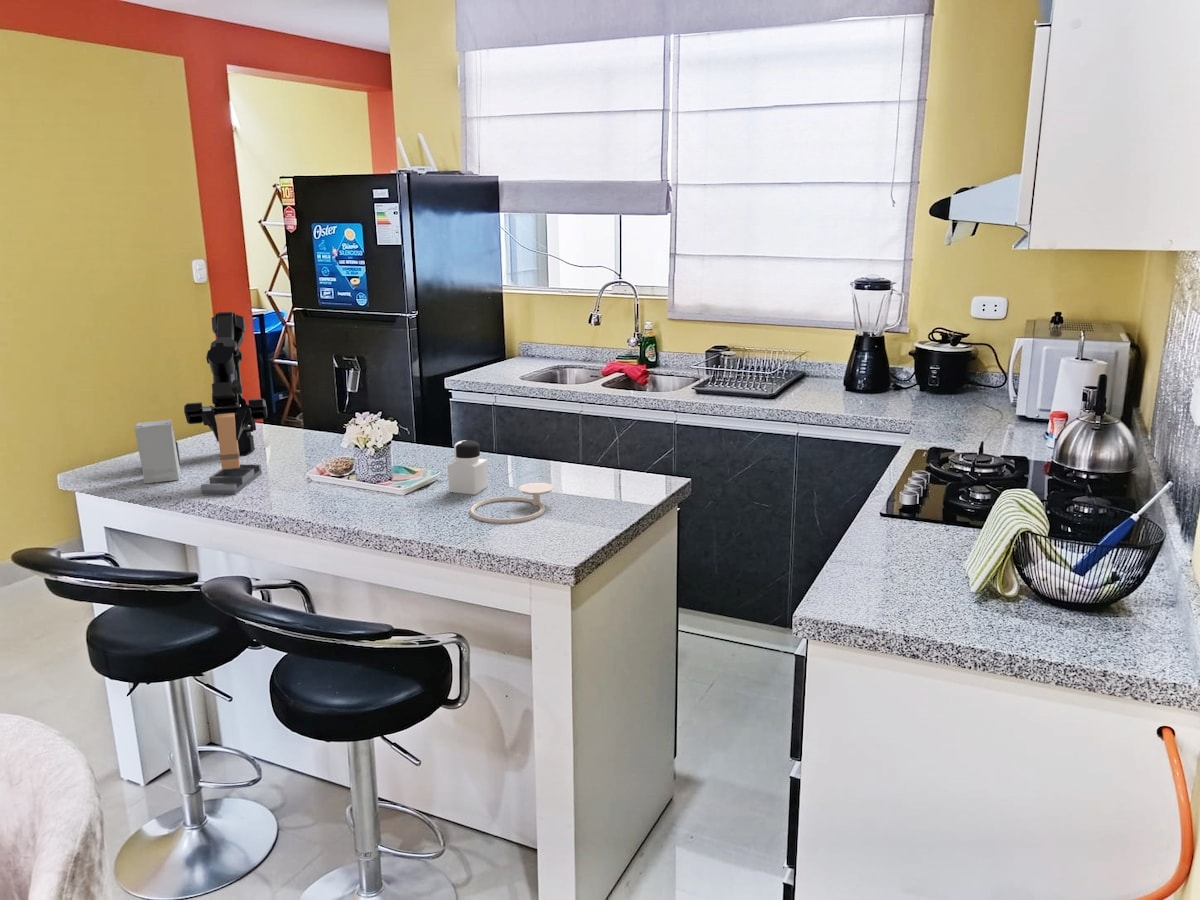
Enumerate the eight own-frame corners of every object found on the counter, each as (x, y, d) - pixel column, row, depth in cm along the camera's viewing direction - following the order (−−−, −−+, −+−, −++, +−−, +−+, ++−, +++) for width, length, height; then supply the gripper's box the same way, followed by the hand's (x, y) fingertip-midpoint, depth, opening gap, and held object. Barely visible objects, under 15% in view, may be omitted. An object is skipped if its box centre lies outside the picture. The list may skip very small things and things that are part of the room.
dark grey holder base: (201, 494, 218) (200, 483, 218) (230, 473, 236) (229, 463, 235) (235, 494, 219) (234, 483, 218) (261, 473, 236) (260, 463, 235)
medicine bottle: (488, 487, 224) (486, 439, 221) (475, 495, 217) (473, 446, 214) (462, 484, 226) (460, 437, 223) (448, 492, 220) (446, 444, 217)
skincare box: (180, 474, 235) (173, 418, 231) (179, 481, 230) (171, 423, 226) (144, 478, 232) (137, 421, 228) (142, 484, 227) (134, 426, 223)
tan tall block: (222, 464, 227) (216, 414, 224) (240, 463, 229) (235, 412, 225) (221, 469, 224) (215, 417, 220) (239, 467, 225) (234, 416, 221)
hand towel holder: (455, 492, 207) (531, 476, 218) (455, 510, 208) (531, 493, 220) (493, 510, 193) (572, 492, 205) (494, 530, 194) (572, 511, 206)
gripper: (180, 371, 221) (180, 425, 213) (262, 366, 226) (265, 419, 219) (187, 396, 230) (188, 449, 223) (265, 391, 236) (269, 443, 228)
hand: (227, 440), depth 223 cm, fingers closed on tan tall block, 4 cm apart
